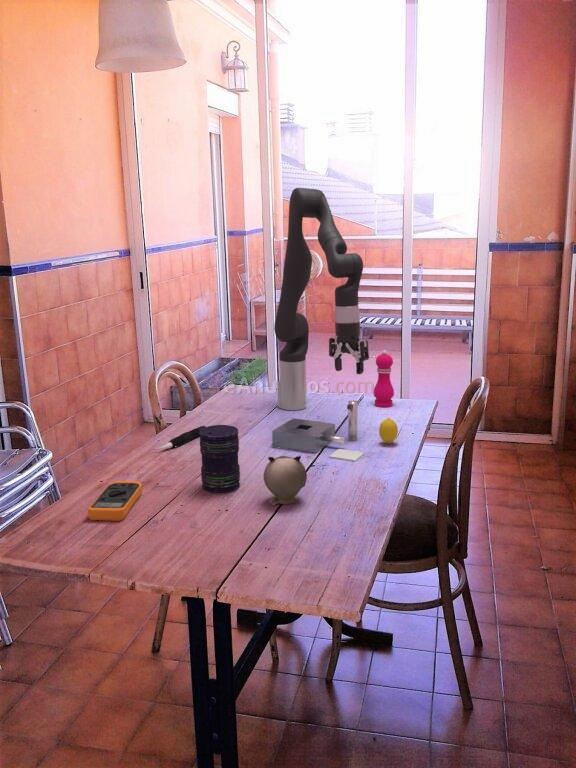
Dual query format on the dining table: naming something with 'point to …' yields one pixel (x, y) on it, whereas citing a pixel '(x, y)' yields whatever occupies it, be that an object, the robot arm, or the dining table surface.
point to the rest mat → (346, 455)
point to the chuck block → (305, 435)
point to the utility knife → (182, 438)
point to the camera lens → (219, 459)
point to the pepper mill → (383, 381)
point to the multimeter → (115, 501)
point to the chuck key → (352, 420)
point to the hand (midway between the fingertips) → (349, 372)
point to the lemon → (388, 430)
